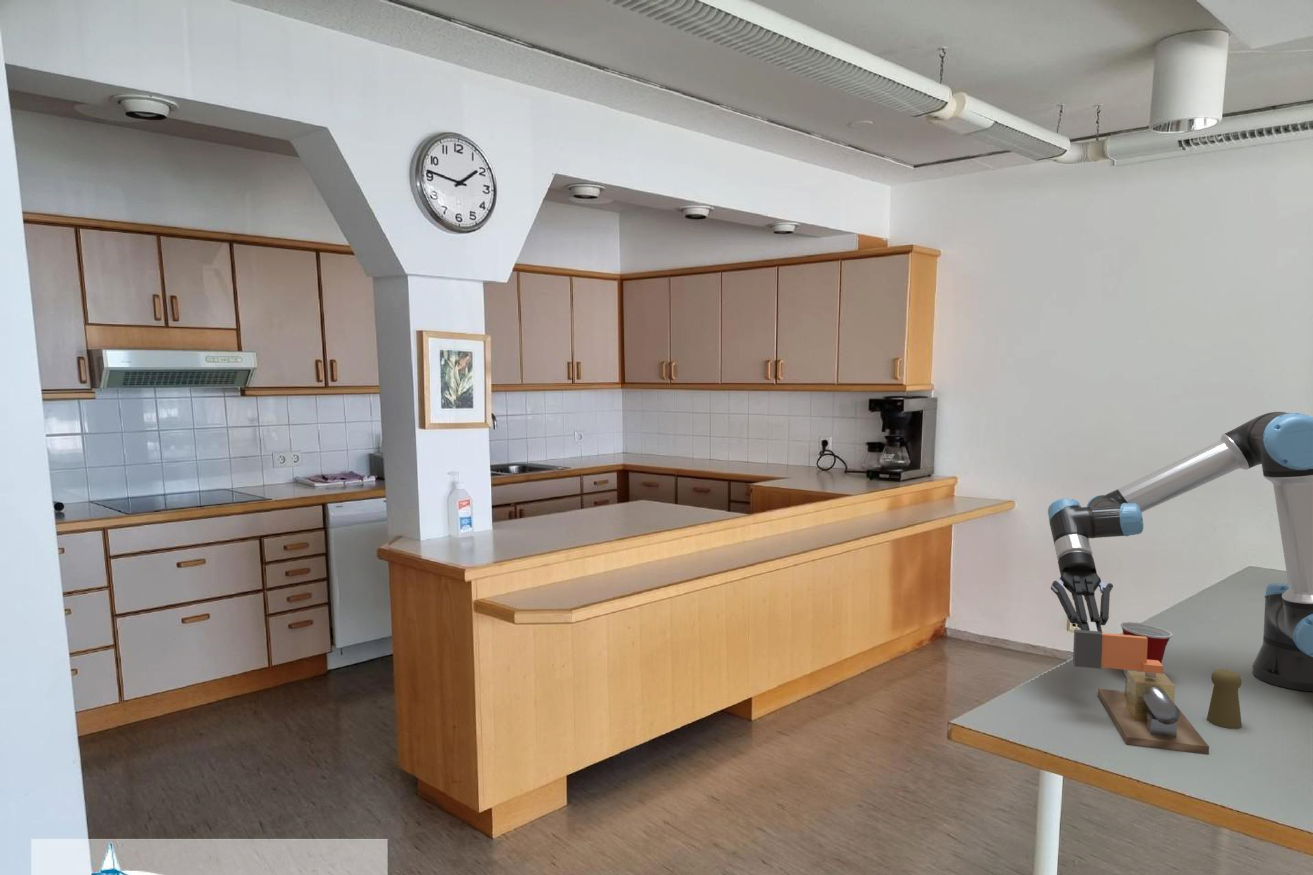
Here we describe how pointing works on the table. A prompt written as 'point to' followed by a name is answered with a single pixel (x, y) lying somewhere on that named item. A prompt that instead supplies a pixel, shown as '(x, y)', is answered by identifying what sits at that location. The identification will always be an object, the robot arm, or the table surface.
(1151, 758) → the table surface
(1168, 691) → the valve body
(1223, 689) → the cork
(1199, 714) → the table surface
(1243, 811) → the table surface
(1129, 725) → the mounting board
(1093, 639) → the valve lever
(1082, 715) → the table surface
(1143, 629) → the plastic cup
